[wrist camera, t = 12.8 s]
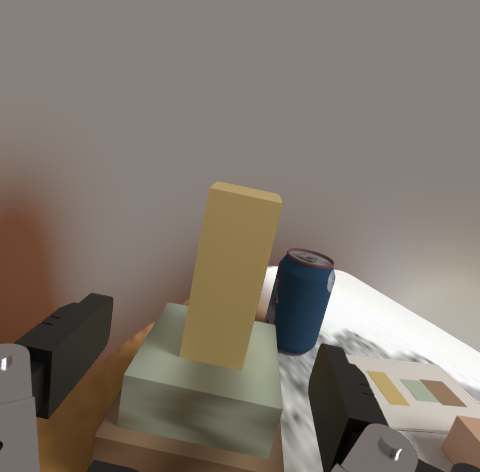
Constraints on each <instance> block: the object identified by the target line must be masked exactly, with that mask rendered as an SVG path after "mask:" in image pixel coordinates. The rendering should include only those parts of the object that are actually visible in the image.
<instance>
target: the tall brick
mask: <svg viewBox="0 0 480 472" xmlns="http://www.w3.org/2000/svg"><path fill="white" fill-rule="evenodd" d="M282 204H283V203H282V201H281V198H280V196H279V194H276V193H271V192H266V191H261V190H257V189H252V188H247V187H243V186H238V185H233V184H229V183H224V182H217V183H216V184H214V185H213V186H212V187H210V188H209V193H208V199H207V204H206V210H205V215H204V222H203V226H202V233H201V238H200V243H199V249H198V254H197V260H196V266H195V271H194V276H193V282H192V288H191V293H190V299H189V304H188V310H187V315H186V321H185V326H184V332H183V337H182V343H181V349H180V354H179V357H180V358H184V359H189V360H194V361H198V362H203V363H207V364H212V365H216V366H221V367H226V368H230V369H235V370H239V371H242V370H243V365H244V361H245V357H246V353H247V349H248V345H249V341H250V337H251V332H252V328H253V324H254V320H255V316H256V312H257V308H258V303H259V299H260V295H261V291H262V287H263V283H264V279H265V275H266V270H267V266H268V262H269V258H270V254H271V250H272V246H273V241H274V237H275V233H276V229H277V225H278V221H279V217H280V212H281V209H282Z"/></svg>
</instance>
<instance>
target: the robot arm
mask: <svg viewBox="0 0 480 472" xmlns="http://www.w3.org/2000/svg"><path fill="white" fill-rule="evenodd" d="M112 310H113V298H112V297H110V296H105V295H101V294H95V293H91V294H89V295H88V296H87V297H86V298H85V299H83V300H82V301H81V302H80V303H71V304H68V305H66V306H64V307H61V308H59V309H58V310H56V311H55V312H54V313H52V314H51V315H50V317H47V318H46V319H45V320H43V321H42V323H40V324H38V325H37V326H36V327H34V328H33V329H32V330H30V331H29V332H28V333H26V334H25V335H24V336H23V337H21V338H20V339H19V340H17V341H16V342H15V343H13V344H0V472H40V464H39V450H38V437H37V423H36V417H40V418H44V419H49V418H50V416H51V415H52V414H53V413H54V411H55V410H56V409H57V408H58V406H59V405H60V404H61V403H62V401H63V400H64V399H65V398H66V396H67V395H68V394H69V393H70V391H71V390H72V389H73V388H74V386H75V385H76V384H77V383H78V381H79V380H80V379H81V378H82V376H83V375H84V374H85V373H86V371H87V370H88V369H89V368H90V366H91V365H92V364H93V363H94V361H95V360H96V359H97V358H98V356H99V355H100V354H101V352H102V351H103V350H104V348H105V346H106V344H107V342H108V339H109V335H110V327H111V318H112ZM308 395H309V400H310V405H311V410H312V415H313V421H314V426H315V431H316V436H317V441H318V446H319V451H320V456H321V461H322V466H323V471H324V472H444V471H442V470H440V469H438V468H436V467H434V466H431V465H429V464H427V463H425V462H423V461H421V460H420V459H418V456H417V453H416V451H415V449H414V447H413V446H412V444H411V443H410V442H409V441H408V440H407V439H406V438H405V437H404V436H403V435H402V434H400V433H399V432H397V431H396V430H394V429H392V428H390V427H389V425H388V423H387V420H386V418H385V416H384V414H383V412H382V410H381V408H380V406H379V403H378V401H377V399H376V397H374V393H373V391H372V389H371V388H370V384H369V382H368V380H367V378H366V376H365V374H364V373H363V372H362V371H361V370H360V369H359V368H358V367H357V366H356V365H355V364H351V363H349V361H348V359H347V357H346V354H345V352H344V350H343V348H342V347H337V346H332V345H328V344H323V343H322V344H321V345H320V347H319V350H318V353H317V356H316V360H315V363H314V366H313V369H312V373H311V376H310V380H309V387H308ZM87 472H139V471H137V470H135V469H133V468H129V467H125V466H120V465H116V464H111V463H107V462H102V461H98V460H93V462H92V463H91V465H90V467H89V469H88V471H87ZM451 472H480V468H478V467H476V466H473V465H470V464H467V463H457V464H455V465H454V466H453V467H452V470H451Z"/></svg>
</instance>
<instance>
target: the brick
mask: <svg viewBox="0 0 480 472" xmlns="http://www.w3.org/2000/svg"><path fill="white" fill-rule="evenodd" d="M442 450H443V451H444V452H445V454H446V455H447V456H448V458H449V459H450V461H451V462H452V463H453V465H455V464H457V463H467V464H470V465H473V466H476V467H478V468H480V418H473V417H465V416H458V415H457V416H456V418H455V421H454V423H453V425H452V427H451V429H450V431H449V433H448V435H447V438H446V440H445V442H444V444H443V446H442Z"/></svg>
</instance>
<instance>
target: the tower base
mask: <svg viewBox="0 0 480 472" xmlns="http://www.w3.org/2000/svg"><path fill="white" fill-rule="evenodd" d="M187 310H188V306H184V305H179V304H174V303H170V302H168V303H167V305H166V306H165V308H164V310H163V311H162V313H161V315H160V316H159V318H158V319H157V321H156V323H155V324H154V326H153V328H152V329H151V331H150V333H149V334H148V336H147V337H146V339H145V341H144V342H143V344H142V346H141V347H140V349H139V351H138V352H137V354H136V355H135V357H134V359H133V360H132V362H131V364H130V365H129V367H128V369H127V370H126V372H125V373H124V376H123V384H122V389H121V391H120V393H119V395H118V396H117V398H116V400H115V401H114V403H113V405H112V407H111V408H110V410H109V412H108V413H107V415H106V417H105V419H104V420H103V422H102V424H101V425H100V427H99V429H98V431H97V432H96V434H95V436H94V443H93V452H92V461H91V463H92V462H93V460H98V461H102V462H107V463H111V464H116V465H120V466H125V467H129V468H133V469H135V470H137V471H139V472H284V465H283V452H282V439H281V426H280V417H281V414H282V410H283V406H282V395H281V384H280V373H279V362H278V351H277V340H276V329H275V325H272V324H267V323H263V322H258V321H254V324H253V328H252V332H251V337H250V341H249V345H248V349H247V353H246V357H245V361H244V365H243V370H242V371H239V370H235V369H230V368H226V367H221V366H216V365H212V364H207V363H203V362H198V361H194V360H189V359H184V358H180V357H179V354H180V349H181V343H182V337H183V332H184V326H185V321H186V315H187Z"/></svg>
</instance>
